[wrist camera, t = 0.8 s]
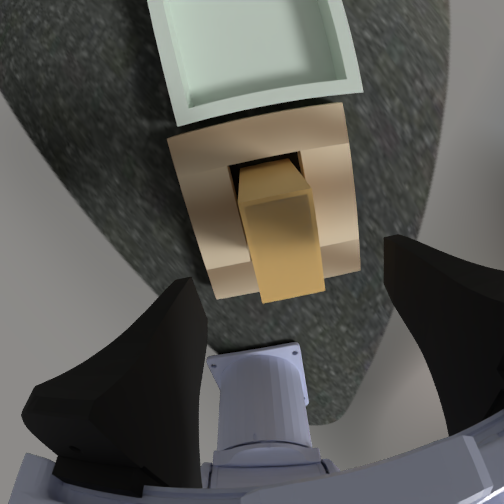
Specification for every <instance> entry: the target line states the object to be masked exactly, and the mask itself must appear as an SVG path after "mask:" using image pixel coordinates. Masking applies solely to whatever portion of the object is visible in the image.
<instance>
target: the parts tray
mask: <svg viewBox="0 0 504 504" xmlns="http://www.w3.org/2000/svg"><path fill="white" fill-rule="evenodd" d="M147 2H148V7H149V11H150V16H151V20H152V25H153V29H154V34H155V38H156V42H157V47H158V51H159V55H160V59H161V64H162V68H163V72H164V76H165V80H166V84H167V88H168V92H169V96H170V100H171V104H172V108H173V112H174V115H175V119H176V123H177V127H179V126H183V125H186V124H190V123H193V122H197V121H201V120H205V119H208V118H212V117H216V116H220V115H225V114H229V113H233V112H238V111H242V110H247V109H252V108H256V107H261V106H267V105H272V104H277V103H283V102H289V101H295V100H302V99H308V98H316V97H323V96H331V95H340V94H350V93H361V92H363V88H362V82H361V77H360V72H359V67H358V63H357V58H356V54H355V49H354V45H353V41H352V37H351V33H350V29H349V25H348V21H347V17H346V14H345V10H344V7H343V3H342V0H147Z"/></svg>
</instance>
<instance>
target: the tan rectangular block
mask: <svg viewBox="0 0 504 504" xmlns="http://www.w3.org/2000/svg"><path fill="white" fill-rule="evenodd" d="M238 206H239V210H240V214H241V218H242V222H243V226H244V230H245V234H246V238H247V242H248V246H249V250H250V254H251V258H252V263H253V267H254V271H255V275H256V279H257V283H258V287H259V291H260V295H261V299H262V303H268V302H273V301H278V300H283V299H288V298H293V297H298V296H302V295H307V294H312V293H317V292H321V291H325V284H324V275H323V267H322V258H321V250H320V242H319V235H318V227H317V220H316V213H315V207H314V200H313V193H312V188H311V187H310V185H309V184H308V183H307V181H306V180H305V179H304V178H303V176H302V175H301V174H300V172H299V171H298V170H297V169H296V167H295V166H294V165H293V164H292V162H291V161H290V160H289V159H288V158H287V159H281V160H276V161H271V162H266V163H262V164H257V165H252V166H247V167H243V168H240V176H239V192H238Z"/></svg>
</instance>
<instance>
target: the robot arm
mask: <svg viewBox="0 0 504 504" xmlns="http://www.w3.org/2000/svg"><path fill="white" fill-rule="evenodd" d="M384 285H385V287H386V290H387V292H388V294H389V296H390V299H391V301H392V303H393V305H394V306H395V308H396V310H397V311H398V313H399V315H400V316H401V318H402V319H403V321H404V323H405V324H406V326H407V327H408V329H409V330H410V332H411V334H412V335H413V337H414V339H415V341H416V342H417V344H418V346H419V348H420V349H421V352H422V353H423V355H424V358H425V360H426V363H427V365H428V367H429V370H430V372H431V375H432V378H433V381H434V383H435V386H436V389H437V392H438V395H439V398H440V402H441V405H442V409H443V412H444V416H445V419H446V424H447V429H448V434H449V437H447V438H444V439H441V440H437V441H434V442H432V443H429V444H427V445H424V446H421V447H419V448H416V449H414V450H411V451H408V452H405V453H402V454H399V455H396V456H393V457H390V458H387V459H384V460H380V461H377V462H374V463H370V464H367V465H363V466H360V467H355V468H351V469H348V470H343V471H340V470H339V468H338V467H337V466H336V465H335V464H334V463H333V462H332V461H331V460H329V459H321V456H320V451H319V448H312V443H311V437H310V431H309V425H308V419H307V413H306V407H305V406H306V405H308V404H309V400H308V394H307V388H306V381H305V375H304V369H303V363H302V357H301V351H300V345H299V344H298V343H297V342H291V343H286V344H281V345H276V346H270V347H264V348H259V349H253V350H247V351H240V352H234V353H227V354H220V355H213V356H209V357H207V364H208V366H209V369H210V371H211V373H212V375H213V377H214V379H215V381H216V383H217V385H218V387H219V389H220V406H219V423H218V442H217V451H214V455H213V465H212V463H208V462H204V463H203V464H202V466H200V453H199V395H200V386H201V380H202V373H203V367H204V361H205V353H206V347H207V332H208V327H207V323H208V319H207V317H206V314H205V312H204V309H203V306H202V304H201V301H200V299H199V296H198V293H197V291H196V288H195V285H194V283H193V280H192V277H188V278H182V279H177V280H175V281H174V282H173V283H172V284H171V285H170V286H169V287H168V288H167V289H166V290H165V291H164V292H163V293H162V294H161V295H160V296H159V297H158V298H157V300H156V301H155V302H154V303H153V304H152V305H151V306H150V307H149V308H148V309H147V310H146V311H145V312H144V313H143V314H142V315H141V316H140V317H139V318H138V319H137V320H136V321H135V322H134V323H133V324H132V325H131V326H130V327H129V328H128V329H127V330H126V331H125V332H123V333H122V334H121V335H120V336H119V337H118V338H116V339H115V340H114V341H113V342H111V343H110V344H109V345H108V346H106V347H105V348H103V349H102V350H101V351H99V352H98V353H96V354H95V355H93V356H92V357H91V358H89V359H88V360H86V361H85V362H83V363H81V364H79V365H78V366H76V367H74V368H73V369H71V370H69V371H67V372H65V373H63V374H61V375H59V376H57V377H55V378H53V379H51V380H48V381H46V382H44V383H42V384H39V385H37V386H35V387H34V389H33V391H32V393H31V395H30V397H29V399H28V401H27V403H26V405H25V407H24V409H23V411H22V414H21V416H22V419H23V422H24V424H25V425H26V427H27V428H28V429H29V430H30V431H31V433H32V434H34V435H35V436H36V437H37V438H38V439H39V440H40V441H41V442H42V443H44V444H45V445H46V446H47V447H48V448H49V449H51V450H52V451H53V452H54V453H55V454H57V455H58V457H57V460H56V463H55V462H53V461H51V460H49V459H47V458H44V457H40V456H37V455H33V454H30V453H26V454H25V456H24V459H23V462H22V464H21V467H20V470H19V473H18V475H17V478H16V481H15V484H14V487H13V490H12V493H11V497H10V500H9V503H8V504H504V271H502V270H497V269H493V268H488V267H485V266H481V265H478V264H475V263H471V262H468V261H465V260H462V259H460V258H457V257H454V256H452V255H449V254H447V253H444V252H442V251H439V250H437V249H434V248H432V247H430V246H428V245H425V244H423V243H420V242H418V241H416V240H413V239H411V238H408V237H405V236H402V235H399V234H397V235H393V236H388V237H384ZM293 351H296V352H293ZM213 364H215V365H213Z"/></svg>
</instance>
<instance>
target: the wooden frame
mask: <svg viewBox="0 0 504 504" xmlns="http://www.w3.org/2000/svg"><path fill="white" fill-rule="evenodd" d="M167 142H168V145H169V149H170V152H171V156H172V160H173V163H174V167H175V170H176V173H177V177H178V180H179V184H180V187H181V190H182V194H183V197H184V200H185V204H186V207H187V210H188V213H189V217H190V220H191V223H192V226H193V230H194V233H195V236H196V239H197V242H198V245H199V248H200V251H201V254H202V258H203V261H204V264H205V267H206V270H207V273H208V276H209V279H210V282H211V284H212V287H213V290H214V293H215V296H216V299H222V298H228V297H233V296H239V295H244V294H249V293H255V292H260V291H259V287H258V283H257V279H256V275H255V271H254V267H253V263H252V258H251V254H250V250H249V246H248V242H247V238H246V234H245V230H244V226H243V222H242V218H241V214H240V210H239V206H238V199H237V195H236V191H235V187H234V183H233V179H232V175H231V171H230V167H229V165H233V164H238V163H242V162H247V161H251V160H256V159H261V158H266V157H270V156H276V155H281V154H286V153H291V152H297V154H298V160H299V165H300V171H301V175H302V176H303V178H304V179H305V180H306V181H307V183H308V184H309V185H310V187H311V188H312V193H313V200H314V207H315V213H316V220H317V227H318V235H319V242H320V250H321V258H322V267H323V275H324V278H328V277H333V276H337V275H342V274H346V273H351V272H355V271H360V250H359V233H358V220H357V208H356V197H355V188H354V179H353V170H352V162H351V155H350V147H349V140H348V134H347V127H346V121H345V115H344V109H343V104H342V103H337V102H335V103H327V104H319V105H312V106H305V107H299V108H293V109H287V110H281V111H276V112H270V113H265V114H260V115H255V116H250V117H246V118H241V119H236V120H232V121H228V122H223V123H219V124H215V125H211V126H207V127H203V128H200V129H196V130H192V131H189V132H185V133H181V134H178V135H175V136H172V137H170V138H168V139H167Z"/></svg>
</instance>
